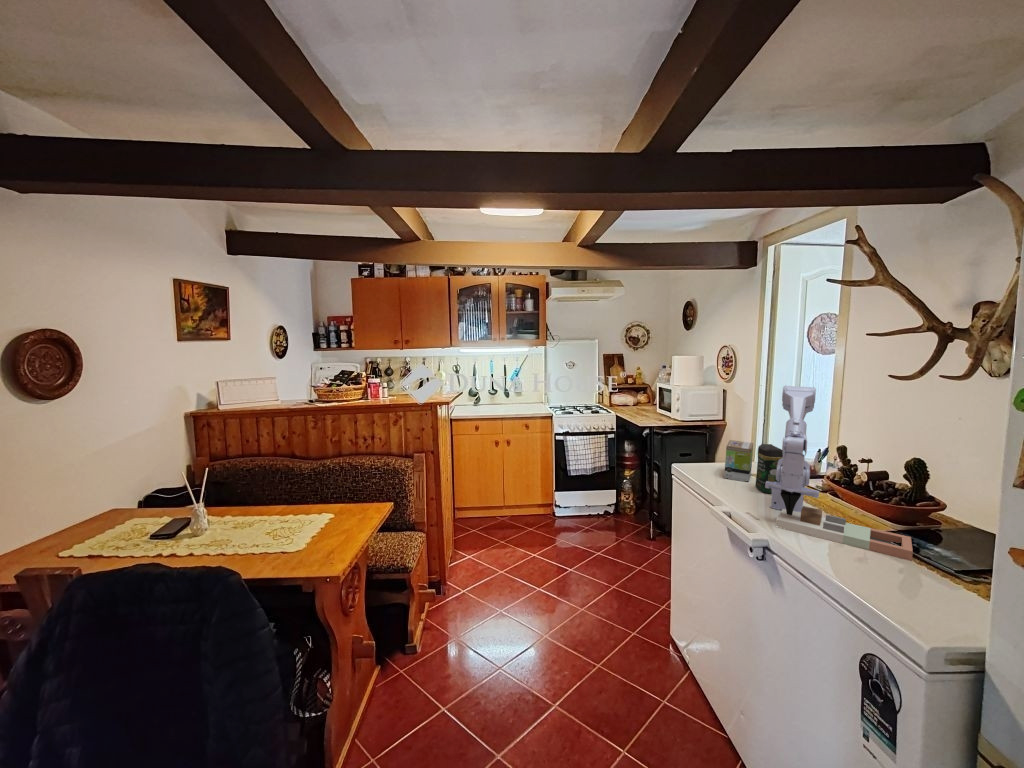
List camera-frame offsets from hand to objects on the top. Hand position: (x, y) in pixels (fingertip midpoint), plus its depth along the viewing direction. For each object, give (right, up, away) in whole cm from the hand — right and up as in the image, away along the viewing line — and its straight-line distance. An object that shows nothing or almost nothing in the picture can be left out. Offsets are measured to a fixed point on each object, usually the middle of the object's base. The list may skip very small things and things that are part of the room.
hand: (789, 513), depth 139 cm
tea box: (+10, +1, +51) cm, 52 cm away
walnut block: (+4, -1, -4) cm, 6 cm away
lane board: (+10, -4, -8) cm, 14 cm away
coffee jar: (+12, -1, +32) cm, 34 cm away
